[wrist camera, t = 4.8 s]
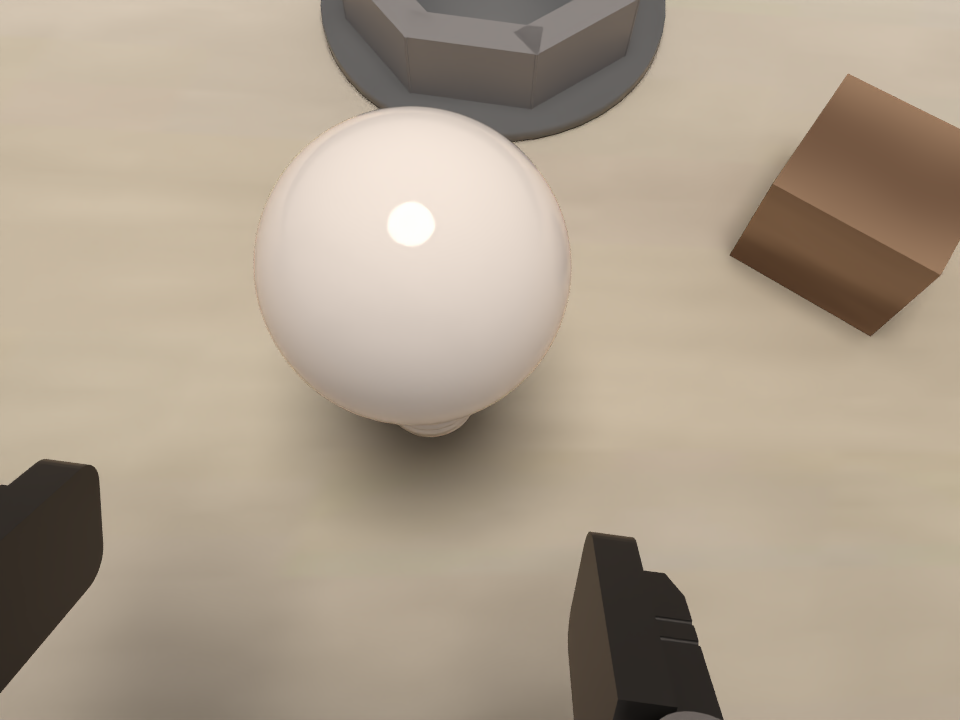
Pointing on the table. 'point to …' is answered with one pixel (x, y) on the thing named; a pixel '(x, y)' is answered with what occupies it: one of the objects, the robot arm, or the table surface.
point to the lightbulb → (412, 267)
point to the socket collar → (497, 56)
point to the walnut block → (861, 208)
